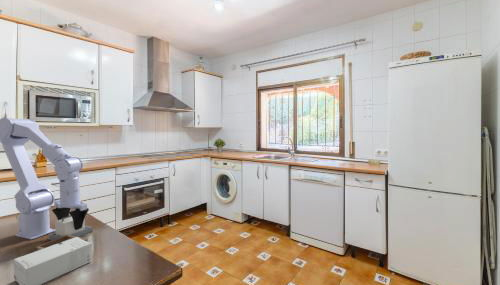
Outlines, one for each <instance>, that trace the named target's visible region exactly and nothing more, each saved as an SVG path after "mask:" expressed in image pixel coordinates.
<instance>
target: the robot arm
mask: <svg viewBox="0 0 500 285" xmlns="http://www.w3.org/2000/svg"><path fill="white" fill-rule="evenodd" d="M29 141H31V142H32V143H33V144H35V145H36V146H38V147H39V148H40V149H41V151H42V152H41V154H42V156H44V157H45V158H46V159H47V160H48V161H49V162H50V163H52V165H53V166H54V167H53V170H54V172H55V173H56V175H57V179H58V180H59V200H56V199H55V194H54V192H52V191H51V189H49V186H48V185H46V184H45V183H41V182H40V181H39V179H38V176H37V174H36V171H35V169H34V167H33V165H32V161H31V159H30V158H29V155H28V153H27V150H26V148H25V144H26V143H28V142H29ZM0 143H1V145H2V148H3V151H4V152H5V156H6V157H7V160H8V162H9V164H10V167H11V170H12V171H13V174H14V176H15V179H16V181H17V183H18V186H19V188H20V189H18V191H17V192H16V193H15V194H14V199H15V208H16V210H17V211H18V212H19V213H20V214H19V215H18V216H17V217H18V218H17V224H18V225H17V227H18V233H17V234H15V237H19V238H24V239H28V240H34V239H37V238H40V237H42V236H45V235H47V234H48V235H49V234H52V233H55V228H54V229H53V228H51V226H50V224H51V223H50V209H51V207H52V205H53V206H54V207H55V208H53V209H52V210H51V211H52V213H53V214H54V215H55V216H56V218H57V221H58V220H61V219H62V218H63V217H67V216H70V215H71V216H72V219H73V223H74V228H75V230H78V229H80V228H82V225H83V221H84V218H86V215H87V214H88V212H89V210H90V209H89V207H88V204H87V203H84V202H82V201H81V194H80V172H81V171H82V170H83V167H84V165H83V161H82V159H80V157H77V156H74V155H71V154H70V153H68V152H67V151H66V150H65V149H64V148H63V145H61V144H58V143H52V141H51V140H50V139H48V137H47V136H46V135H45V134H44V133H43V132H42V131H41V130H40V125H39V124H38V123H37V122H36V121H35V120H34V119H32V118H11V117H10V118H9V117H1V118H0ZM71 209H72V210H71ZM73 209H74V210H73Z"/></svg>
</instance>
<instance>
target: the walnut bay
mask: <svg viewBox="0 0 500 285" xmlns="http://www.w3.org/2000/svg"><path fill="white" fill-rule="evenodd" d="M75 237H76V236H71V235H65V236H62V237H60V238H57V239H54V240H52V241H50V240H49V241H47V242H44V243H41V244H39V245H36V246H35V247H34V252H36V251H38V250H41V249H44V248H47V247H49V246H52V245H55V244H58V243H61V242H63V241H66V240H69V239H72V238H75ZM79 238H80V239H82V240H84V241H87V242H89V240H88V238H84V237H79Z"/></svg>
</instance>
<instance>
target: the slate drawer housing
mask: <svg viewBox="0 0 500 285" xmlns="http://www.w3.org/2000/svg"><path fill="white" fill-rule="evenodd" d="M88 233H89V234H91V233H93V226H89V225H85V229H84V230H82V231H79V232H77V233H74V234H72V235H71V236H76V237H80V238H83V236H86V234H87V235H89V234H88ZM60 237H61V236H57V235H56V232H55V231H54V232H51V233H48V240H49V241H52V240H54V239H57V238H60Z"/></svg>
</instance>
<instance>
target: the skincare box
mask: <svg viewBox="0 0 500 285" xmlns="http://www.w3.org/2000/svg"><path fill="white" fill-rule="evenodd" d="M80 238H81V237H80ZM80 238H79V237H75V238H72V239H69V240H66V241H63V242H61V243H58V244H55V245H52V246H49V247H47V248H44V249H41V250H38V251H36V252H35V251H33V252H30V253H27V254H25V255H23V256H22V255H21V256H18V257H16V258H14V259H13V261H12V263H13V264H12V265H13V275H14V276H13V278H14V281H16V282H17V283H18V285H43V284H45V283H47V282H50V281H52V280H54V279H56V278H58V277H61V276H62V275H66V274H67V273H69V272H72V271H74V270H76V269H78V268H80V267H82V266H85V265H87V264H89V263H91V262H92V247H93V246H92V242H89V241H88V242H87V241H84V240H82V239H80Z"/></svg>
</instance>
